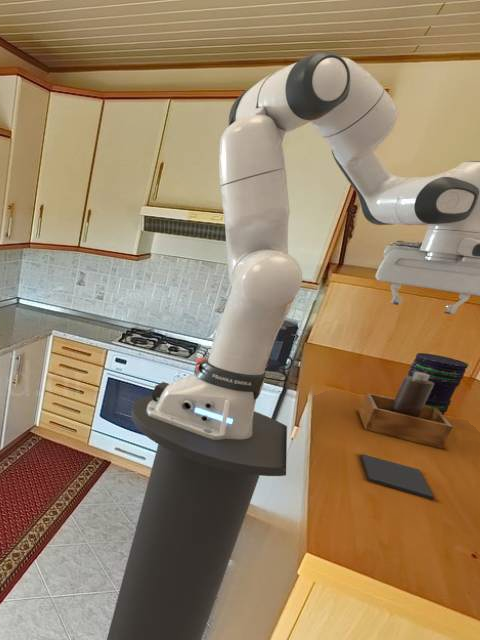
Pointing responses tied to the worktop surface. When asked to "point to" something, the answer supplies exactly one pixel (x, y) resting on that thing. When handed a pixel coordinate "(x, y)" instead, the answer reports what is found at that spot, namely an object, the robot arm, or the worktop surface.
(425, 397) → the pepper mill
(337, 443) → the worktop surface
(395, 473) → the counter mat
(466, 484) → the worktop surface
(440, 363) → the storage jar
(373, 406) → the brown wooden open box
